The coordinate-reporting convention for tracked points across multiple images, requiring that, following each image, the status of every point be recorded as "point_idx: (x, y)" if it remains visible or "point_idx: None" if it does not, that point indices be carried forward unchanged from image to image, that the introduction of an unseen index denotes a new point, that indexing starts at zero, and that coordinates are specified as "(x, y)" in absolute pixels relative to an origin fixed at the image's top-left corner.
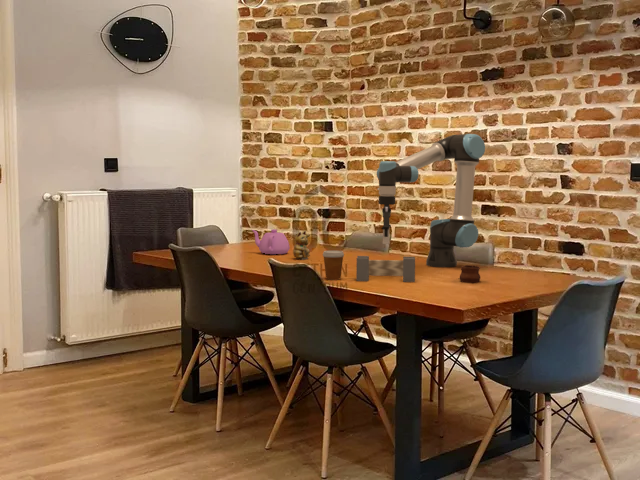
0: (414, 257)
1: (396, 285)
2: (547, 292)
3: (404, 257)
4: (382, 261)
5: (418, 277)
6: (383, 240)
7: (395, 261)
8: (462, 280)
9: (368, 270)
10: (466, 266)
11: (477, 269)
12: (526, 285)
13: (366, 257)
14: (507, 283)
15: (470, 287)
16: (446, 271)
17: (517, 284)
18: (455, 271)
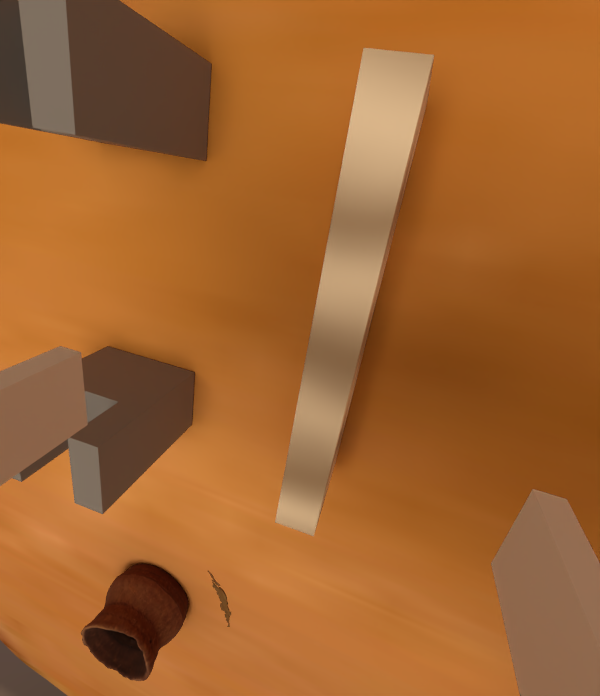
0: (75, 499)
1: (10, 287)
2: (14, 644)
3: (71, 442)
4: (315, 313)
5: (256, 464)
6: (12, 376)
7: (295, 415)
8: (132, 568)
9: (105, 142)
10: (146, 655)
11: (100, 650)
12: (105, 671)
13: (38, 100)
14: None
15: (38, 531)
16: (459, 661)
17: None
18: (450, 689)
